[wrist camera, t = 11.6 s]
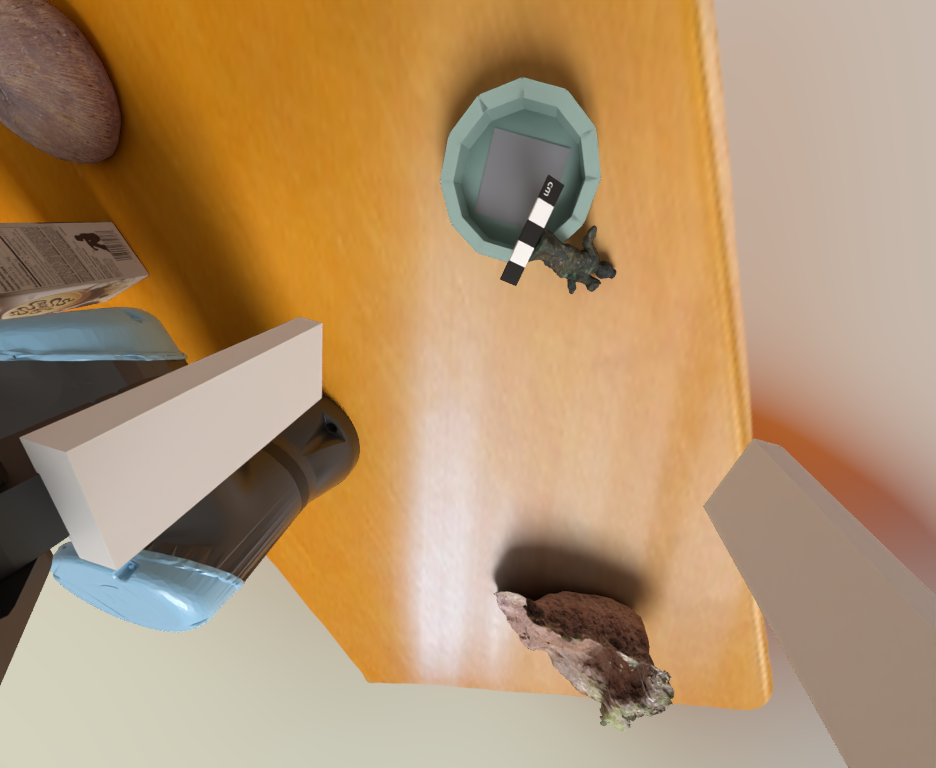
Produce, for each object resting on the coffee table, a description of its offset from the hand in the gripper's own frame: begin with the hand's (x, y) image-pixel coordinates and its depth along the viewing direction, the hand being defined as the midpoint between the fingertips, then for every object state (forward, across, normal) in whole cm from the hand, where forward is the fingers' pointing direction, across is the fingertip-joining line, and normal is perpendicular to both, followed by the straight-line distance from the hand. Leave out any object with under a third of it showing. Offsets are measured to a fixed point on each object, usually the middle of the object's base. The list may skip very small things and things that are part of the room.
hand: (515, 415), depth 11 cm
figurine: (+15, -3, +4) cm, 16 cm away
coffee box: (+25, -47, -9) cm, 54 cm away
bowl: (+24, -3, +7) cm, 25 cm away
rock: (+24, +19, -42) cm, 52 cm away
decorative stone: (+26, -47, +10) cm, 55 cm away
